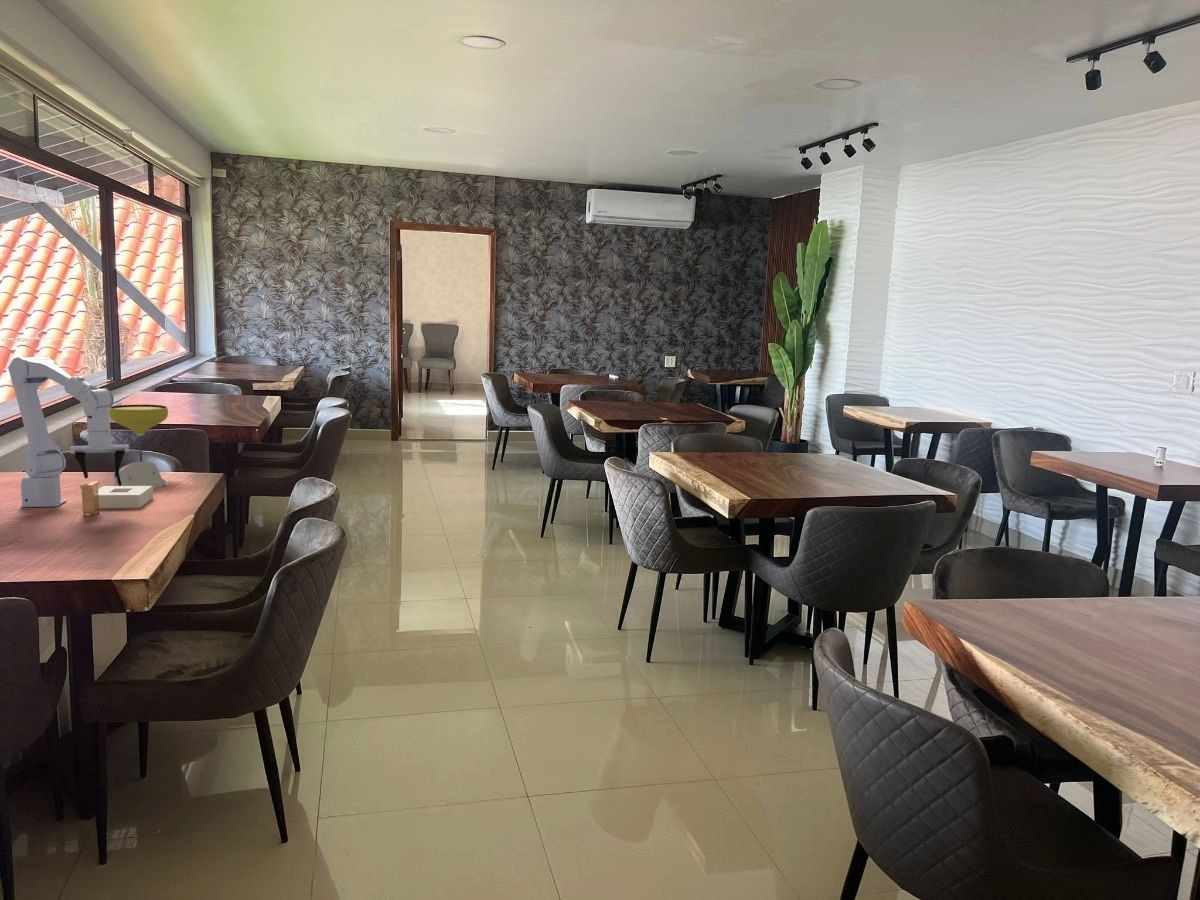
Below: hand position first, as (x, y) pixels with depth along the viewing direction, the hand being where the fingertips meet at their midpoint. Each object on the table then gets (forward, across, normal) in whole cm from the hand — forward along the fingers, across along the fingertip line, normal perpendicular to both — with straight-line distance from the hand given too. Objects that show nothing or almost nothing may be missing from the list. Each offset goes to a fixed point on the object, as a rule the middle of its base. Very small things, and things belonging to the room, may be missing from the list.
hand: (101, 477), depth 244 cm
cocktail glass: (+10, +8, +56) cm, 57 cm away
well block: (+10, +4, +12) cm, 16 cm away
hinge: (+11, +8, +34) cm, 37 cm away
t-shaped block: (+10, -3, -1) cm, 11 cm away
